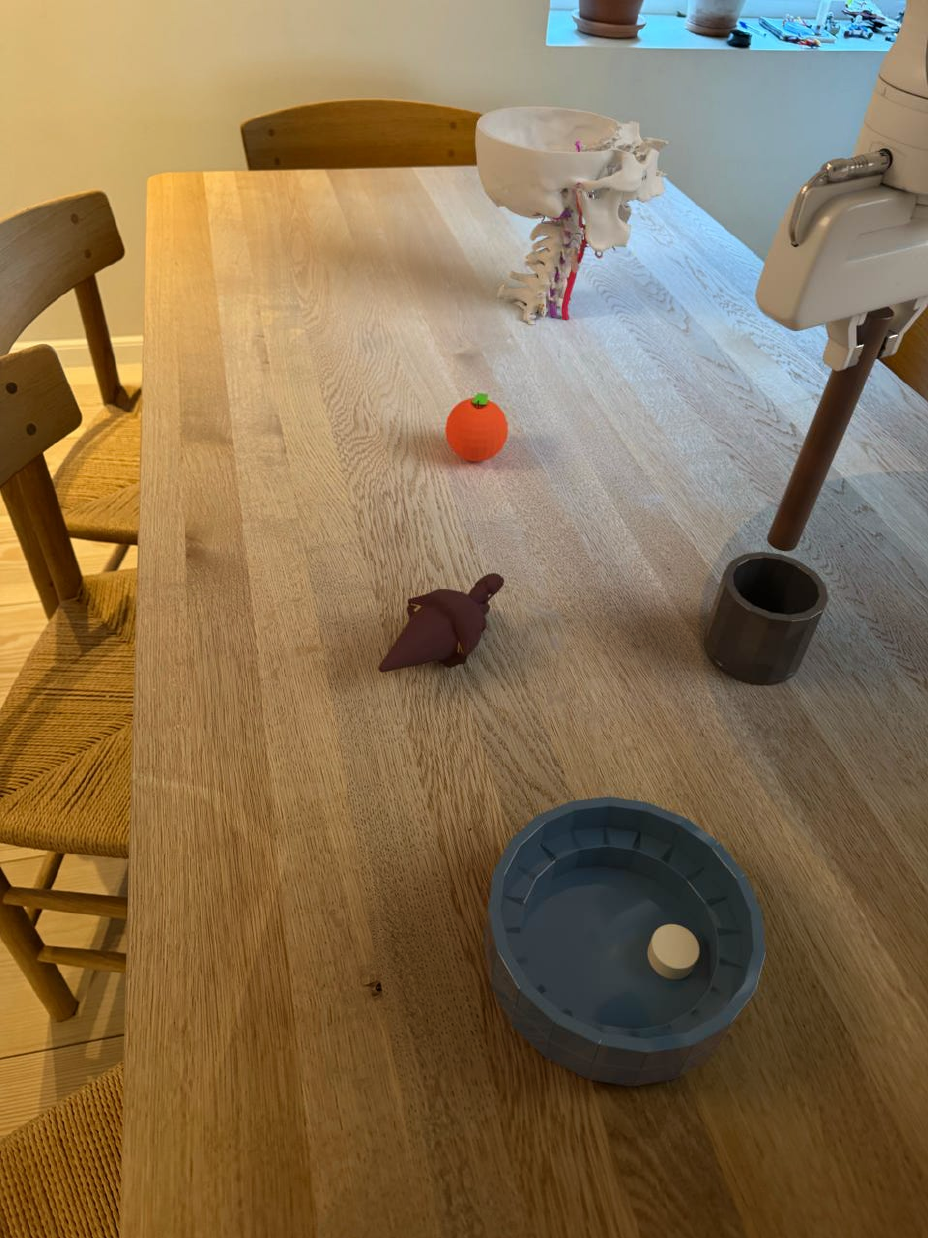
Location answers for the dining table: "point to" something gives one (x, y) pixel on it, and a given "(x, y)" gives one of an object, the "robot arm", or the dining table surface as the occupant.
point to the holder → (764, 617)
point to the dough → (673, 951)
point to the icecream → (443, 626)
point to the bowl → (620, 939)
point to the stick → (826, 434)
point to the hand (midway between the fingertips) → (858, 359)
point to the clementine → (476, 428)
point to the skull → (564, 189)
